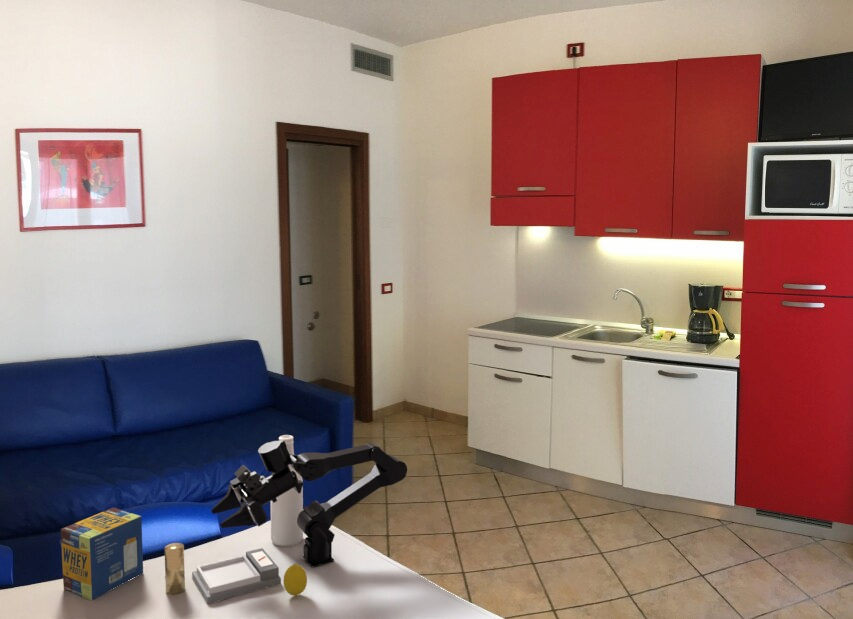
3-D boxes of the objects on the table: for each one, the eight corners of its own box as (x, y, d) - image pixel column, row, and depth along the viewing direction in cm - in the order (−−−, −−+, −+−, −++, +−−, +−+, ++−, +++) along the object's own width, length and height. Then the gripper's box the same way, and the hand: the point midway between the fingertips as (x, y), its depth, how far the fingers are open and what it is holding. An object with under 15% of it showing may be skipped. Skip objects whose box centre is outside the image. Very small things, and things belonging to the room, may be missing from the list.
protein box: (62, 590, 173) (59, 528, 171) (116, 563, 187) (114, 506, 185) (91, 601, 168) (88, 538, 166) (144, 573, 182) (142, 514, 180)
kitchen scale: (192, 577, 180) (191, 561, 179) (262, 560, 189) (261, 545, 189) (207, 603, 168) (207, 586, 168) (281, 584, 178) (280, 567, 177)
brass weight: (182, 583, 177) (181, 541, 176) (186, 591, 173) (185, 548, 172) (164, 588, 175) (162, 545, 173) (168, 596, 171) (166, 552, 170)
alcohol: (307, 543, 200) (307, 438, 196) (277, 550, 195) (276, 443, 192) (295, 531, 207) (295, 430, 204) (266, 538, 203) (265, 434, 199)
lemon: (302, 603, 169) (301, 571, 168) (279, 600, 170) (279, 568, 169) (310, 591, 174) (310, 560, 173) (288, 588, 176) (288, 557, 175)
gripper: (251, 448, 187) (194, 479, 181) (273, 471, 171) (211, 505, 165) (267, 484, 191) (212, 515, 184) (290, 509, 175) (230, 544, 168)
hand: (216, 519), depth 175 cm, fingers open, 9 cm apart
